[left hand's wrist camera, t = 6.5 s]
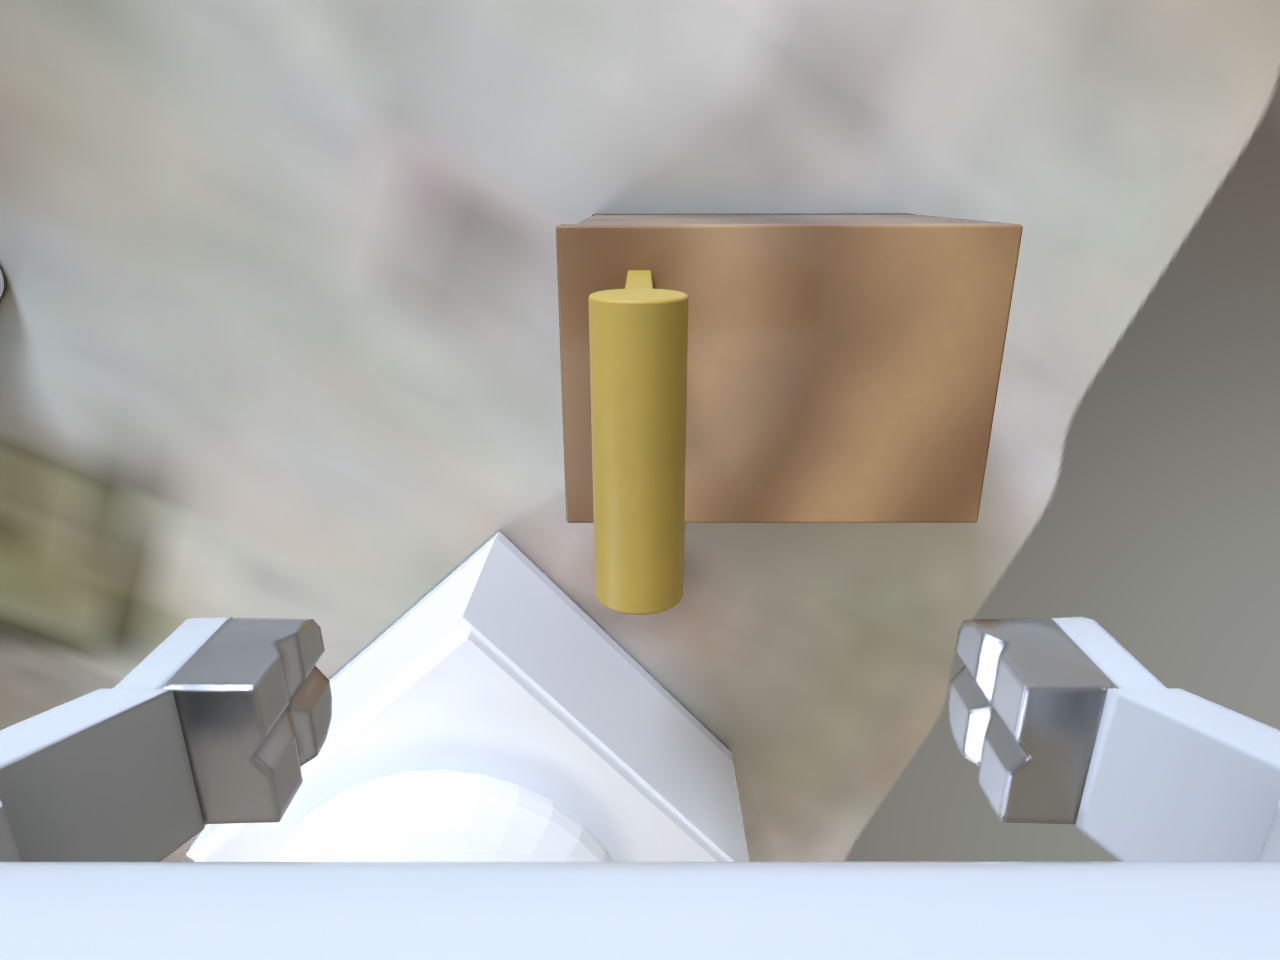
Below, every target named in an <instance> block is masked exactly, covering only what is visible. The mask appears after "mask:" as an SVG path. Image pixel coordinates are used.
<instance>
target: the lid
mask: <svg viewBox="0 0 1280 960" xmlns="http://www.w3.org/2000/svg"><path fill="white" fill-rule="evenodd" d="M1021 235H1022V225H1018V224H1008V223H956V224H561V225H559V226H557V227H556V243H557V271H558V299H559V327H560V354H561V382H562V410H563V438H564V466H565V493H566V520H567V522H569V523H594V556H595V594H596V597H597V599H598V601H599V602H600V603H601V604H602V605H603V606H605V607H606V608H608V609H611V610H613V611H616V612H620V613H625V614H633V615H645V614H653V613H658V612H662V611H665V610H668V609H670V608H672V607H673V606H675V605H676V604H677V603H678V602H679V601H680V599H681V598H682V595H683V566H684V523H866V522H977V519H978V512H979V506H980V499H981V493H982V486H983V480H984V474H985V467H986V461H987V454H988V448H989V441H990V435H991V428H992V422H993V416H994V409H995V403H996V396H997V390H998V383H999V377H1000V370H1001V364H1002V357H1003V351H1004V345H1005V338H1006V332H1007V325H1008V319H1009V312H1010V306H1011V299H1012V293H1013V287H1014V280H1015V274H1016V267H1017V261H1018V254H1019V248H1020V241H1021Z"/></svg>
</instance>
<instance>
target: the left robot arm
mask: <svg viewBox="0 0 1280 960" xmlns="http://www.w3.org/2000/svg"><path fill="white" fill-rule="evenodd" d="M3 290H4V278H3V275H2V272H1V269H0V298H1V296H2V293H3ZM324 651H325V649H324V644H323V639H322V634H321V628H320V626H319V625H318V624H317V623H316V622H315V621H314V620H313V619H275V618H232V617H210V618H193V619H187V620H186V621H185V622H184V623H182V624H181V625H180V626H179V627H178V628H177V629H176V630H175V631H174V632H173V633H172V634H171V635H170V636H169V637H168V638H166V639H165V640H164V641H163V642H162V643H161V644H160V645H159V646H158V647H157V648H156V649H155V650H154V651H153V652H152V653H150V654H149V655H148V656H147V657H146V658H145V659H144V660H143V661H142V662H141V663H140V664H139V665H138V666H137V667H136V668H134V669H133V670H132V671H131V672H130V673H129V674H128V675H127V676H126V677H125V678H124V679H123V680H122V681H121V682H120V683H118V684H117V685H116V686H115V687H114V688H113V689H98V690H95V691H93V692H91V693H88V694H86V695H83V696H81V697H79V698H76V699H74V700H71V701H69V702H67V703H64V704H62V705H59V706H57V707H55V708H52V709H50V710H47V711H45V712H43V713H40V714H38V715H35V716H33V717H31V718H28V719H26V720H24V721H21V722H19V723H16V724H14V725H12V726H9V727H7V728H4V729H2V730H0V960H1280V730H1278V729H1275V728H1273V727H1271V726H1268V725H1266V724H1263V723H1261V722H1259V721H1256V720H1254V719H1251V718H1249V717H1247V716H1244V715H1242V714H1240V713H1237V712H1235V711H1232V710H1230V709H1228V708H1225V707H1223V706H1221V705H1218V704H1216V703H1213V702H1211V701H1209V700H1206V699H1204V698H1201V697H1199V696H1197V695H1194V694H1192V693H1189V692H1187V691H1185V690H1182V689H1167V688H1166V687H1165V686H1164V685H1163V684H1162V683H1161V682H1160V681H1158V680H1157V679H1156V678H1155V677H1154V676H1153V675H1152V674H1151V673H1150V672H1149V671H1148V670H1147V669H1146V668H1145V667H1144V666H1142V665H1141V664H1140V663H1139V662H1138V661H1137V660H1136V659H1135V658H1134V657H1133V656H1132V655H1131V654H1130V653H1129V652H1127V651H1126V650H1125V649H1124V648H1123V647H1122V646H1121V645H1120V644H1119V643H1118V642H1117V641H1116V640H1115V639H1114V638H1113V637H1112V636H1111V635H1109V634H1108V633H1107V632H1106V631H1105V630H1104V629H1103V628H1102V627H1101V626H1100V625H1099V624H1098V623H1097V622H1096V621H1095V620H1092V619H1089V618H1086V617H1066V618H1023V619H982V620H967V621H963V623H962V626H961V628H960V630H959V632H958V637H957V643H956V649H955V651H956V652H957V654H958V655H959V657H960V658H961V660H962V662H963V663H964V665H965V666H964V667H963V668H962V669H961V670H960V671H959V672H958V674H957V675H956V676H955V677H954V678H953V679H952V680H951V681H950V689H949V697H948V712H949V722H950V728H951V731H952V734H953V737H954V740H955V743H956V745H957V746H958V748H959V750H960V752H961V754H962V756H964V757H965V758H967V759H968V760H970V761H971V762H973V763H975V764H976V765H978V766H979V773H978V779H977V782H978V784H979V786H980V787H981V789H982V791H983V792H984V794H985V796H986V798H987V799H988V801H989V803H990V805H991V806H992V808H993V810H994V811H995V813H996V815H997V817H998V818H999V820H1000V822H1011V823H1047V824H1076V825H1075V828H1076V829H1078V830H1079V831H1080V832H1082V833H1083V834H1084V835H1085V836H1087V837H1088V838H1089V839H1091V840H1092V841H1093V842H1095V843H1096V844H1097V845H1099V846H1100V847H1101V848H1103V849H1104V850H1105V851H1107V852H1108V853H1109V854H1110V855H1112V856H1113V857H1115V858H1116V859H1117V860H1119V861H1120V862H161V861H162V860H163V859H165V858H166V857H167V856H168V855H170V854H171V853H172V852H174V851H175V850H176V849H178V848H179V847H180V846H182V845H183V844H184V843H186V842H187V841H188V840H190V839H191V838H192V837H194V836H195V835H196V834H197V833H199V832H200V831H201V830H203V829H204V828H205V826H204V824H232V823H267V822H280V820H281V819H282V817H283V815H284V813H285V812H286V810H287V808H288V806H289V805H290V803H291V801H292V799H293V798H294V796H295V794H296V793H297V791H298V789H299V787H300V786H301V784H302V782H303V779H302V773H301V766H302V765H304V764H305V763H307V762H309V761H310V760H312V759H313V758H315V757H316V756H318V754H319V752H320V750H321V748H322V746H323V744H324V743H325V741H326V738H327V734H328V730H329V726H330V722H331V717H332V695H331V687H330V681H329V680H328V679H327V678H326V677H325V676H324V675H323V674H322V672H321V671H320V670H319V669H318V668H317V667H316V666H315V665H316V663H317V662H318V660H319V658H320V657H321V655H322V654H323V652H324Z"/></svg>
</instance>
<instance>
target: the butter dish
mask: <svg viewBox="0 0 1280 960" xmlns="http://www.w3.org/2000/svg"><path fill="white" fill-rule="evenodd" d="M329 681H330V687H331V695H332V717H331V722H330V726H329V730H328V734H327V738H326V741H325V743H324V744H323V746H322V748H321V750H320V752H319V754H318V756H316V757H315V758H313V759H312V760H310V761H309V762H307V763H305V764H304V765H302V766H301V773H302V779H303V782H302V784H301V786H300V787H299V789H298V791H297V793H296V794H295V796H294V798H293V799H292V801H291V803H290V805H289V806H288V808H287V810H286V812H285V813H284V815H283V817H282V819H281V820H280V822H267V823H232V824H207V825H206V826H205V828H204V829H203V830H202V832H201V833H200V835H199V836H198V838H197V839H196V841H195V842H194V844H193V845H192V846H191V848H190V849H189V851H188V852H187V854H186V856H188V857H189V858H191V859H192V860H194V861H195V862H749V856H748V850H747V844H746V838H745V832H744V825H743V819H742V813H741V807H740V801H739V794H738V788H737V782H736V776H735V770H734V763H733V757H732V753H731V752H730V751H729V750H728V749H727V748H726V747H725V746H724V745H723V744H722V743H721V742H720V741H719V740H718V739H717V738H716V737H715V736H713V735H712V734H711V733H710V732H709V731H708V730H707V729H706V728H705V727H704V726H703V725H702V724H701V723H700V722H699V721H698V720H697V719H696V718H695V717H694V716H692V715H691V714H690V713H689V712H688V711H687V710H686V709H685V708H684V707H683V706H682V705H681V704H680V703H679V702H678V701H677V700H676V699H675V698H674V697H673V696H672V695H670V694H669V693H668V692H667V691H666V690H665V689H664V688H663V687H662V686H661V685H660V684H659V683H658V682H657V681H656V680H655V679H654V678H653V677H652V676H651V675H649V674H648V673H647V672H646V671H645V670H644V669H643V668H642V667H641V666H640V665H639V664H638V663H637V662H636V661H635V660H634V659H633V658H632V657H631V656H630V655H629V654H627V653H626V652H625V651H624V650H623V649H622V648H621V647H620V646H619V645H618V644H617V643H616V642H615V641H614V640H613V639H612V638H611V637H610V636H609V635H608V634H607V633H605V632H604V631H603V630H602V629H601V628H600V627H599V626H598V625H597V624H596V623H595V622H594V621H593V620H592V619H591V618H590V617H589V616H588V615H587V614H586V613H584V612H583V611H582V610H581V609H580V608H579V607H578V606H577V605H576V604H575V603H574V602H573V601H572V600H571V599H570V598H569V597H568V596H567V595H566V594H565V593H564V592H562V591H561V590H560V589H559V588H558V587H557V586H556V585H555V584H554V583H553V582H552V581H551V580H550V579H549V578H548V577H547V576H546V575H545V574H544V573H543V572H541V571H540V570H539V569H538V568H537V567H536V566H535V565H534V564H533V563H532V562H531V561H530V560H529V559H528V558H527V557H526V556H525V555H524V554H523V553H522V552H521V551H519V550H518V549H517V548H516V547H515V546H514V545H513V544H512V543H511V542H510V541H509V540H508V539H507V538H506V537H505V536H504V535H503V534H502V533H501V532H500V531H499V532H498V533H497V534H496V535H495V536H494V537H492V538H491V539H490V540H489V541H488V542H487V543H486V544H484V545H483V546H482V547H481V548H480V549H479V550H478V551H476V552H475V553H474V554H473V555H472V556H471V557H470V558H468V559H467V560H466V561H465V562H464V563H463V564H462V565H460V566H459V567H458V568H457V569H456V570H455V571H454V572H452V573H451V574H450V575H449V576H448V577H447V578H446V579H444V580H443V581H442V582H441V583H440V584H439V585H438V586H436V587H435V588H434V589H433V590H432V591H431V592H430V593H428V594H427V595H426V596H425V597H424V598H423V599H422V600H420V601H419V602H418V603H417V604H416V605H415V606H414V607H412V608H411V609H410V610H409V611H408V612H407V613H406V614H404V615H403V616H402V617H401V618H400V619H399V620H398V621H396V622H395V623H394V624H393V625H392V626H391V627H390V628H389V629H387V630H386V631H385V632H384V633H383V634H382V635H381V636H379V637H378V638H377V639H376V640H375V641H374V642H373V643H371V644H370V645H369V646H368V647H367V648H366V649H365V650H363V651H362V652H361V653H360V654H359V655H358V656H357V657H355V658H354V659H353V660H352V661H351V662H350V663H349V664H347V665H346V666H345V667H344V668H343V669H342V670H341V671H339V672H338V673H337V674H336V675H335V676H334V677H333V678H331V679H330V680H329Z"/></svg>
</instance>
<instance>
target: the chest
mask: <svg viewBox="0 0 1280 960" xmlns="http://www.w3.org/2000/svg"><path fill="white" fill-rule="evenodd" d="M956 223H998V222H987V221H977V220H966V219H955V218H945V217H934V216H923V215H915V214H593V215H592V216H591V217H590V218H588V219H586V220H584V221H582V222H580V223H578V224H956Z"/></svg>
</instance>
